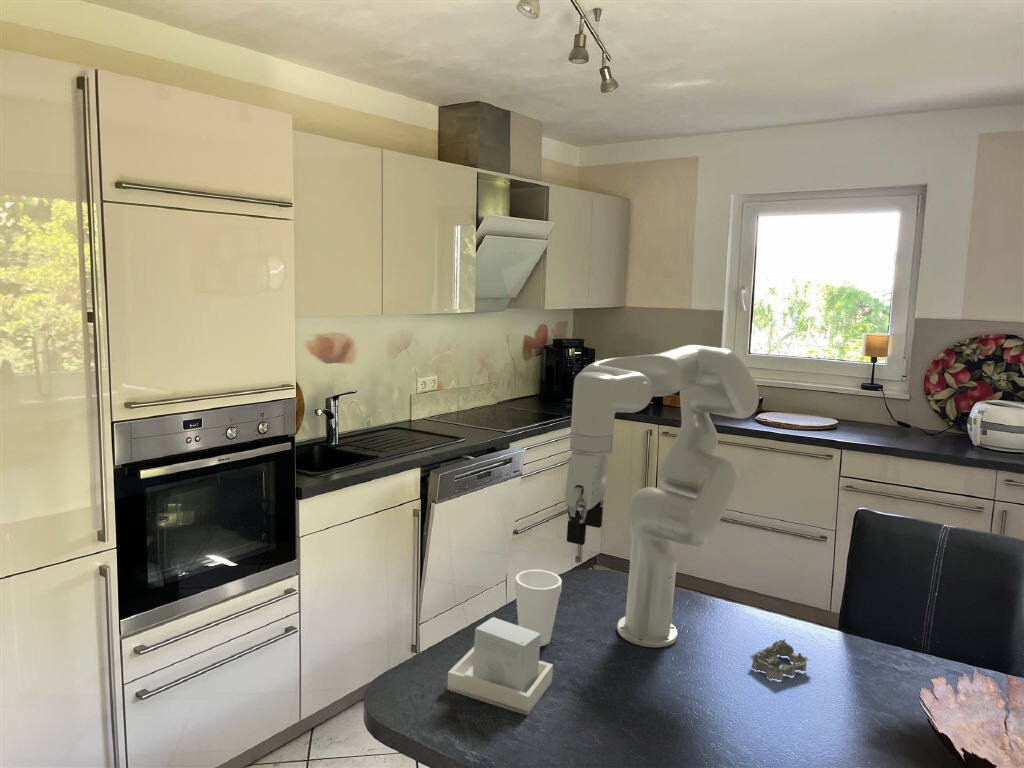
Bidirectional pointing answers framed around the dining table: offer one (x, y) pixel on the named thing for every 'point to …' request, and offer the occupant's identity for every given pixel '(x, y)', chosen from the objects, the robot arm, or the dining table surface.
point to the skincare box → (506, 654)
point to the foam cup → (537, 601)
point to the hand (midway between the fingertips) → (584, 534)
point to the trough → (497, 686)
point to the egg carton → (774, 662)
